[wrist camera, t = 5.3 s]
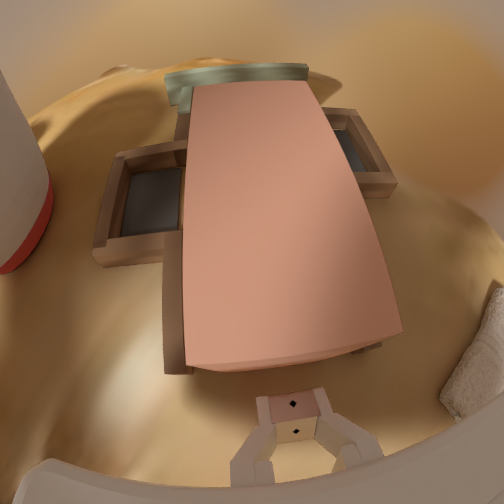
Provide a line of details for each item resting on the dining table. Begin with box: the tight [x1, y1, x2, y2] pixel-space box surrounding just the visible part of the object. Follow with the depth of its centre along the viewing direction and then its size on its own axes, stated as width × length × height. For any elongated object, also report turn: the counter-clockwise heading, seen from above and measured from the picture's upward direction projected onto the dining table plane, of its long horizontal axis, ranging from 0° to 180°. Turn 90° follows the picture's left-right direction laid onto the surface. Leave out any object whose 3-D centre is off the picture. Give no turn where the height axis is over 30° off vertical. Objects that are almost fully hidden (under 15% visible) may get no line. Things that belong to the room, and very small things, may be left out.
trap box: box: [91, 63, 398, 375], centre depth 20 cm, size 24×29×4 cm
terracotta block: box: [183, 80, 403, 373], centre depth 14 cm, size 6×13×10 cm, turn 6°
